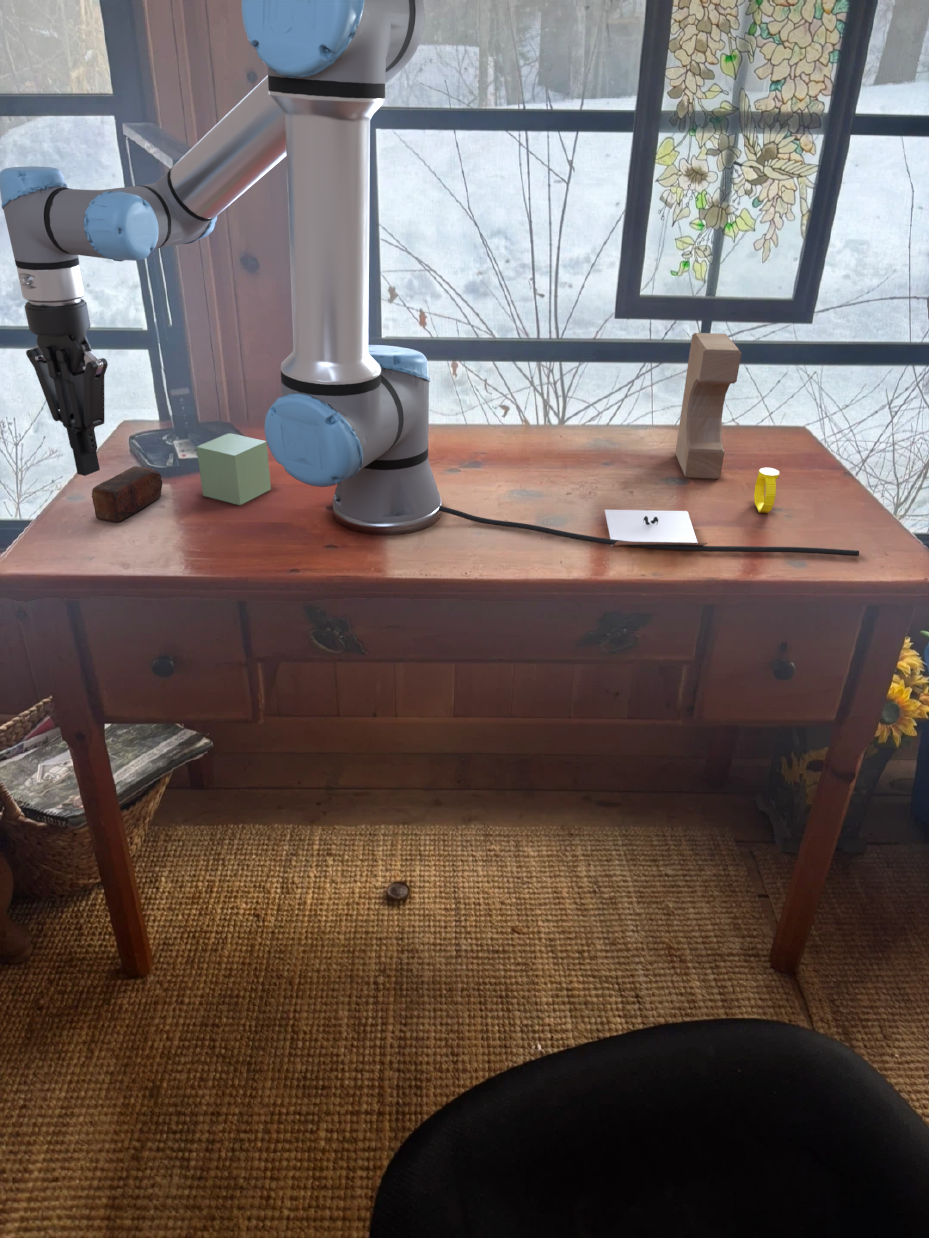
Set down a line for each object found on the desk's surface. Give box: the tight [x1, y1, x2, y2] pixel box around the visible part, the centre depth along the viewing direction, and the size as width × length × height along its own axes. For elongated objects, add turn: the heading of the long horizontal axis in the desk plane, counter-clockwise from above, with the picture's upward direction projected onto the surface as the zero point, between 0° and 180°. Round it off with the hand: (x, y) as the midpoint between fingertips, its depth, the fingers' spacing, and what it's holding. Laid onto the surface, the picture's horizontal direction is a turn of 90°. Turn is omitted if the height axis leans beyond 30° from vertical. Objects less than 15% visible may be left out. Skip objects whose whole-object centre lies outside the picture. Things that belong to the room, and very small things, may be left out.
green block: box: [195, 432, 272, 506], centre depth 133 cm, size 7×7×8 cm
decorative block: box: [674, 332, 742, 480], centre depth 142 cm, size 11×6×20 cm, turn 176°
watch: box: [753, 467, 780, 514], centre depth 132 cm, size 6×3×6 cm, turn 177°
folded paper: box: [604, 509, 708, 547], centre depth 124 cm, size 12×12×2 cm
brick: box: [91, 466, 163, 523], centre depth 128 cm, size 11×4×5 cm, turn 162°
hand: (88, 471), depth 130 cm, fingers closed
